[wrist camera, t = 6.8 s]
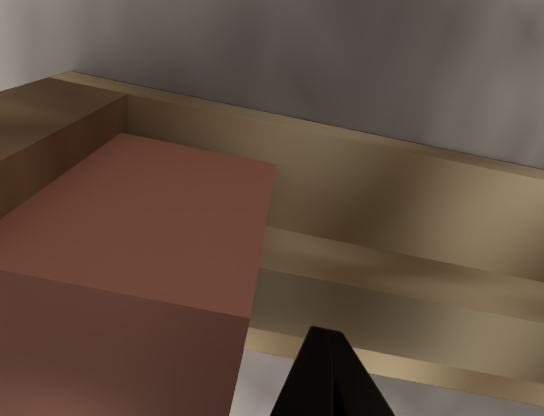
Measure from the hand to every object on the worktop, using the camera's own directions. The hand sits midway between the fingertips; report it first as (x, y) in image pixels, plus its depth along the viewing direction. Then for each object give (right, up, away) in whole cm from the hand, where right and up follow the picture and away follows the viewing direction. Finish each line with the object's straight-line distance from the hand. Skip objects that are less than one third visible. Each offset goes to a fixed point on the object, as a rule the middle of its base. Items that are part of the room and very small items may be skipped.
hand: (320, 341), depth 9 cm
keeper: (-4, +2, +2) cm, 5 cm away
